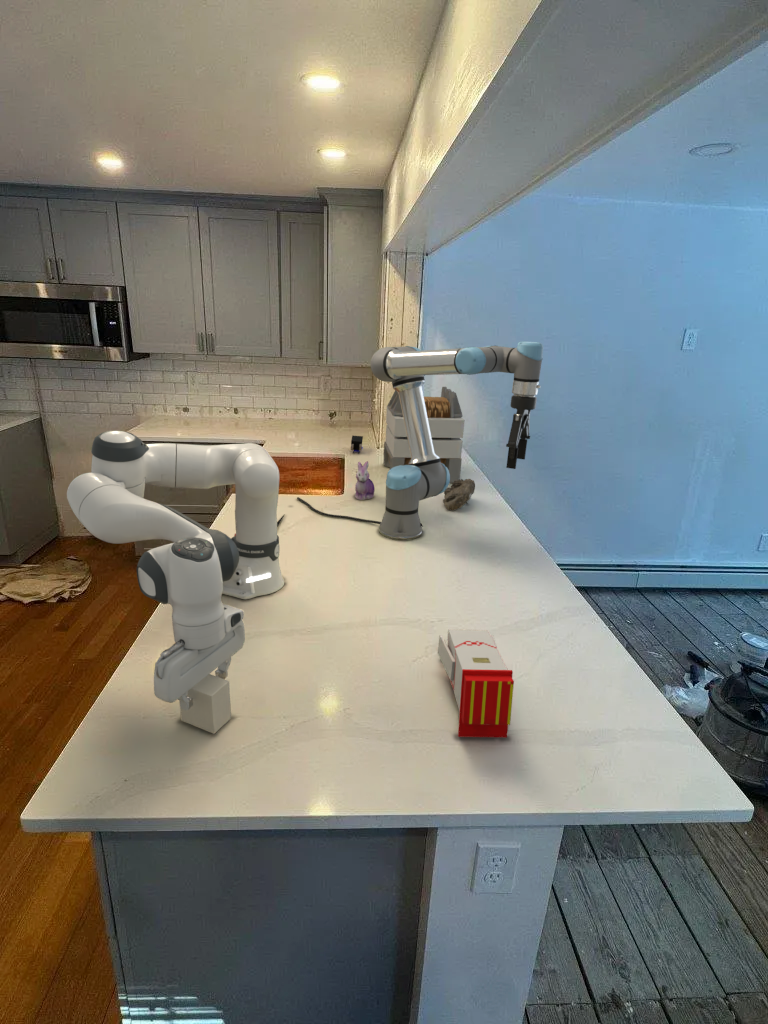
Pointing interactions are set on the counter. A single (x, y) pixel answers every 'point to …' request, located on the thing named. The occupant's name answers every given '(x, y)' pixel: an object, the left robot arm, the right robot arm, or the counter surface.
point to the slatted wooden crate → (442, 427)
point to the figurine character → (356, 443)
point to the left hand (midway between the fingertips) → (204, 692)
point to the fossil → (458, 494)
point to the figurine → (363, 483)
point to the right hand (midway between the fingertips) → (515, 463)
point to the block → (209, 704)
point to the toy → (478, 682)
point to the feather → (279, 521)
